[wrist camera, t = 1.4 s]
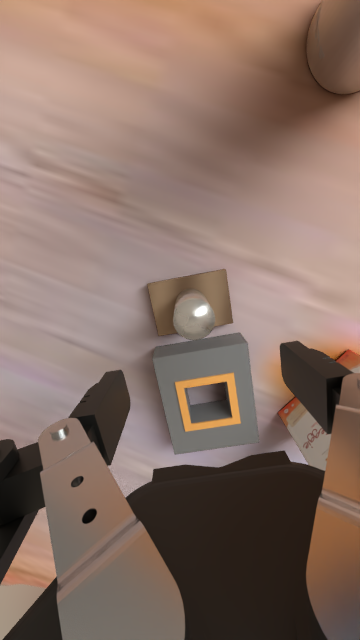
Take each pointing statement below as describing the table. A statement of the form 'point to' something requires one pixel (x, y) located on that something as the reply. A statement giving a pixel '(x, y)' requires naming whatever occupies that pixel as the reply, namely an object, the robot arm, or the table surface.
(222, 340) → the hole block
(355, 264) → the table surface
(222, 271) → the brown rectangular block
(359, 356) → the cracker box
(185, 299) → the steel peg
